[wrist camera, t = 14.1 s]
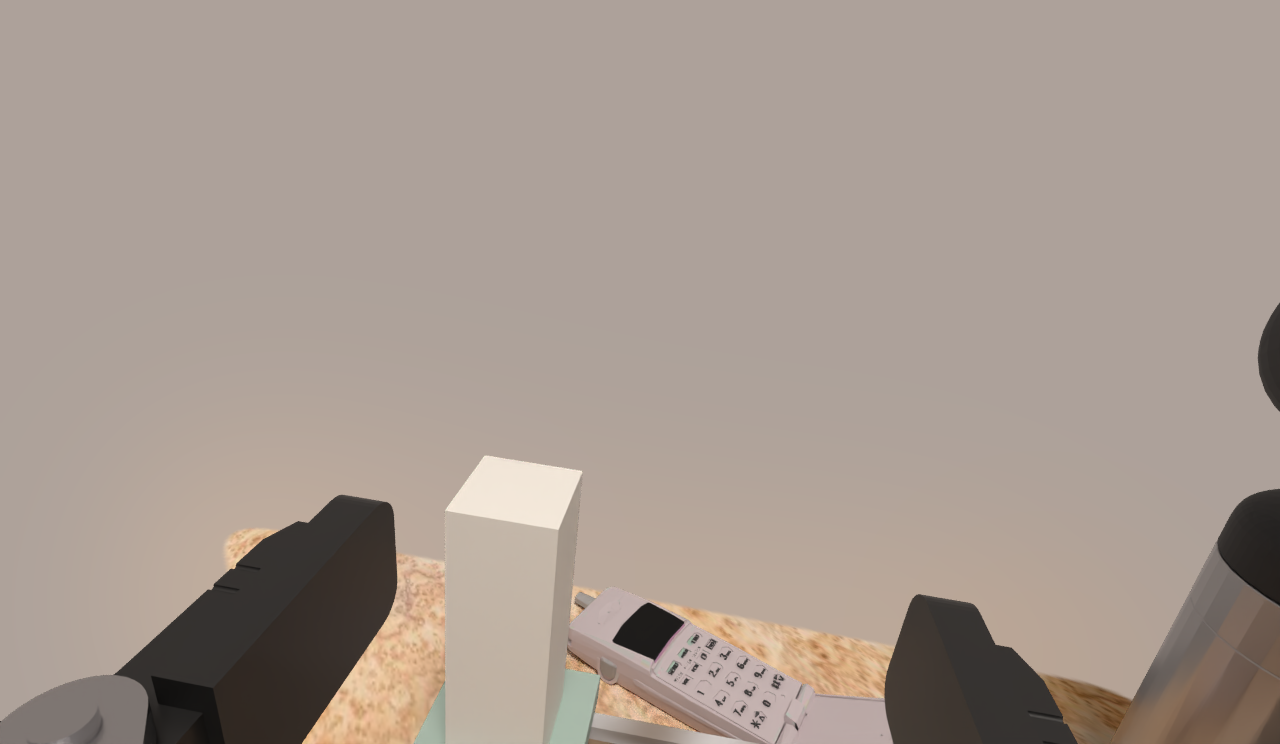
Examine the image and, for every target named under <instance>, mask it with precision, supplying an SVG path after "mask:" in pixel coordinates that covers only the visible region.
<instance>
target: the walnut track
mask: <svg viewBox="0 0 1280 744" xmlns="http://www.w3.org/2000/svg"><path fill="white" fill-rule="evenodd" d="M588 744H758V743H753V742H748V741H742V740H737V739H732V738H726V737H721V736H716V735H710V734H705V733H700V732H695V731H689V730H684V729H679V728H673V727H668V726H663V725H658V724H652V723H647V722H642V721H636V720H631V719H626V718H621V717H615V716H610V715H605V714H599V713H594V717H593V722H592V726H591V731H590V735H589V740H588Z"/></svg>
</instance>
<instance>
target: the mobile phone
mask: <svg viewBox="0 0 1280 744" xmlns="http://www.w3.org/2000/svg"><path fill="white" fill-rule="evenodd" d="M575 602H576V603H577V604H579V605H580V606H582V607H584V608H585V609H584V610H583V611H582V612H581V613H580V614H579V615H578V616H577V617H576V618H575V619H574V620H573V621H572V622H571V623H570V624H569V632H568V643H567V646H568V648H569V650H570V651H571V652H572V653H574V654H575V655H576V656H578V657H579V658H580V659H582V660H583V661H584V662H586V663H587V664H589V665H590V666H592V667H593V668H594V669H596V670H597V671H598V675H600V678H601V679H602V680H603V681H604V682H605V683H608V684H610V685H612V684H614V683H617V684H619V685H621V686H622V687H624V688H626V689H627V690H629V691H631V692H632V693H634V694H636V695H638V696H639V697H641V698H643V699H644V700H646V701H648V702H649V703H651V704H653V705H654V706H656V707H658V708H660V709H661V710H663V711H665V712H666V713H668V714H670V715H671V716H673V717H675V718H677V719H678V720H680V721H682V722H683V723H685V724H687V725H688V726H690V727H692V728H694V729H696V730H697V731H699V732H701V733H705V734H710V735H716V736H721V737H726V738H732V739H737V740H742V741H748V742H753V743H758V744H893V741H892V737H891V733H890V729H889V725H888V721H887V716H886V710H885V699H883V698H869V697H855V696H841V695H827V694H815V691H814V689H813V688H812V687H811V686H810V685H808V684H803V686H802V683H801V682H799V681H797V680H795V679H793V678H792V677H790V676H788V675H786V674H784V673H782V672H780V671H778V670H777V669H775V668H773V667H771V666H769V665H768V664H766V663H764V662H762V661H760V660H759V659H757V658H755V657H753V656H751V655H750V654H748V653H746V652H744V651H742V650H741V649H739V648H737V647H735V646H733V645H731V644H730V643H728V642H726V641H724V640H722V639H720V638H718V637H716V636H714V635H712V634H711V633H709V632H707V631H705V630H703V629H701V628H699V627H697V626H695V625H693V624H692V623H691V622H690V621H689V620H687V619H685V618H683V617H681V616H679V615H677V614H675V613H673V612H671V611H669V610H667V609H665V608H663V607H661V606H659V605H657V604H655V603H653V602H651V601H649V600H646V599H644V598H641V597H639V596H637V595H634V594H632V593H629V592H627V591H624V590H622V589H619V588H617V587H609V588H606V589H605V590H604V591H603V592H602V593H601V594H600V595H599V596H598V597H597V598H596V599H595V598H593V597H591V596H588V595H586V594H584V593H582V592H579V593H578V594H577V595H576V597H575ZM819 696H820V697H819Z"/></svg>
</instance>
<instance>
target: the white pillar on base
mask: <svg viewBox="0 0 1280 744" xmlns="http://www.w3.org/2000/svg"><path fill="white" fill-rule="evenodd" d="M582 473H583V471H579V470H573V469H566V468H560V467H554V466H548V465H542V464H535V463H529V462H523V461H517V460H511V459H504V458H498V457H492V456H484V457H483V459H482V460H481V462H480V463H479V464H478V466H477V467H476V468H475V470H474V471H473V473H472V474H471V475H470V477H469V478H468V479H467V481H466V482H465V484H464V485H463V486H462V488H461V489H460V491H459V492H458V493H457V495H456V496H455V497H454V499H453V500H452V502H451V503H450V505H449V506H448V507H447V508H446V510H445V682H444V684H443V686H442V688H441V690H440V692H439V694H438V696H437V698H436V700H435V702H434V704H433V706H432V708H431V710H430V712H429V714H428V716H427V718H426V720H425V722H424V724H423V726H422V728H421V730H420V732H419V734H418V736H417V738H416V740H415V742H414V744H588V740H589V735H590V731H591V726H592V722H593V717H594V713H595V708H596V704H597V699H598V692H599V683H600V675H597V674H591V673H586V672H581V671H575V670H570V669H565V666H566V655H567V643H568V632H569V621H570V609H571V598H572V587H573V575H574V564H575V553H576V540H577V530H578V519H579V507H580V496H581V484H582Z"/></svg>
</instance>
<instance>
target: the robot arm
mask: <svg viewBox="0 0 1280 744" xmlns="http://www.w3.org/2000/svg"><path fill="white" fill-rule="evenodd" d="M1258 363H1259V374H1260V377H1261V380H1262V383H1263V386H1264V389H1265V392H1266V393H1267V395H1268V396H1269V398H1270V399H1271V401H1272V403H1273V404H1274V406H1275V407H1276V408H1277V409H1278V410H1279V411H1280V303H1279V305H1278V306H1277V307H1276V309H1275V310H1274V312H1273V313H1272V315H1271V317H1270V319H1269V321H1268V323H1267V325H1266V327H1265V329H1264V331H1263V334H1262V337H1261V341H1260V345H1259V351H1258ZM396 589H397V564H396V547H395V528H394V513H393V509H392V506H391V505H390V504H389V503H387V502H382V501H376V500H371V499H364V498H359V497H352V496H346V495H339V496H337V497H335V498H334V499H333V500H331V501H330V502H329V503H328V504H327V505H326V506H325V507H324V508H323V509H322V510H321V511H320V512H319V513H318V514H317V515H316V516H315V517H314V518H313V519H312V520H311V521H310V522H309V523H305V522H299V521H298V522H296V523H294V524H292V525H290V526H288V527H286V528H284V529H282V530H280V531H278V532H276V533H275V534H273V535H271V536H269V537H267V538H265V539H263V540H262V541H261V542H260V543H259V544H257V545H256V546H255V547H254V548H253V549H252V550H251V551H250V552H249V553H248V554H246V555H245V556H244V557H243V558H242V559H241V560H240V561H239V562H238V563H237V564H236V567H235V569H230V570H229V571H228V572H227V573H226V574H225V575H223V576H222V577H221V578H220V579H219V580H218V581H217V582H216V583H215V584H214V587H213V589H212V590H207V591H206V592H205V593H204V594H203V595H201V596H200V597H199V598H198V599H197V600H196V601H195V602H194V603H193V604H192V605H191V606H189V607H188V608H187V609H186V610H185V611H184V612H183V613H182V614H181V615H180V616H179V617H177V618H176V619H175V620H174V621H173V622H172V623H171V624H170V625H169V626H168V627H166V628H165V629H164V630H163V631H162V632H161V633H160V634H159V635H158V636H156V638H154V639H153V640H152V641H151V642H150V643H149V644H148V645H147V646H146V647H144V648H143V649H142V650H141V651H140V652H139V653H138V654H137V655H136V656H134V658H132V659H131V660H130V661H129V662H128V663H127V664H126V665H125V666H124V667H122V669H120V670H119V671H118V672H117V673H115V674H114V675H103V676H94V677H88V678H83V679H79V680H76V681H72V682H69V683H66V684H63V685H61V686H58V687H56V688H53V689H51V690H49V691H47V692H45V693H43V694H41V695H39V696H37V697H35V698H33V699H32V700H30V701H28V702H27V703H25V704H23V705H22V706H21V707H19V708H17V709H16V710H15V711H13V712H12V713H11V714H9V715H8V716H7V717H6V718H5V719H4V720H2V721H0V744H302V742H303V741H304V739H305V738H306V736H307V735H308V733H309V732H310V731H311V729H312V728H313V726H314V725H315V723H316V722H317V720H318V719H319V717H320V716H321V714H322V713H323V711H324V710H325V709H326V707H327V706H328V704H329V703H330V701H331V700H332V698H333V697H334V695H335V694H336V692H337V691H338V690H339V688H340V687H341V685H342V684H343V682H344V681H345V679H346V678H347V676H348V675H349V673H350V672H351V671H352V669H353V668H354V666H355V665H356V663H357V662H358V660H359V659H360V657H361V656H362V654H363V653H364V651H365V650H366V649H367V647H368V646H369V644H370V643H371V641H372V640H373V638H374V637H375V635H376V634H377V632H378V631H379V630H380V628H381V627H382V625H383V624H384V622H385V620H386V619H387V617H388V615H389V613H390V610H391V608H392V605H393V602H394V599H395V594H396ZM885 710H886V716H887V721H888V725H889V729H890V733H891V737H892V741H893V744H1078V743H1077V741H1076V740H1075V738H1074V736H1073V734H1072V732H1071V730H1070V729H1069V727H1068V725H1067V724H1064V723H1063V716H1062V714H1061V712H1060V710H1059V708H1058V706H1057V705H1056V703H1055V701H1054V699H1053V697H1052V695H1051V694H1050V692H1049V690H1048V688H1047V686H1046V684H1045V682H1044V681H1043V680H1042V679H1041V678H1040V677H1039V676H1038V674H1037V673H1036V672H1035V671H1034V670H1033V669H1032V668H1031V667H1030V666H1029V665H1028V664H1027V663H1026V662H1025V661H1024V660H1023V659H1022V658H1021V657H1020V656H1019V655H1018V654H1017V653H1016V652H1015V651H1014V650H1013V649H1012V648H1009V647H1004V646H999V645H995V643H994V641H993V639H992V637H991V635H990V633H989V631H988V629H987V627H986V625H985V623H984V620H983V619H982V616H981V614H980V612H979V611H978V609H977V608H976V607H975V605H973V604H971V603H966V602H961V601H955V600H949V599H943V598H937V597H932V596H926V595H920V594H919V595H916V596H915V597H914V598H913V599H912V601H911V603H910V606H909V608H908V611H907V614H906V617H905V620H904V623H903V626H902V629H901V632H900V635H899V638H898V641H897V644H896V647H895V649H894V652H893V655H892V658H891V661H890V664H889V667H888V671H887V675H886V681H885ZM1110 744H1280V489H1275V490H1268V491H1263V492H1259V493H1256V494H1253V495H1251V496H1249V497H1247V498H1245V499H1244V500H1243V501H1242V502H1241V503H1239V505H1238V506H1237V507H1236V508H1235V509H1234V511H1233V512H1232V514H1231V516H1230V517H1229V519H1228V521H1227V523H1226V525H1225V527H1224V529H1223V531H1222V532H1221V534H1220V536H1219V538H1218V541H1217V542H1216V543H1215V545H1214V547H1213V549H1212V551H1211V553H1210V555H1209V557H1208V559H1207V560H1206V562H1205V564H1204V566H1203V568H1202V570H1201V572H1200V574H1199V576H1198V577H1197V580H1196V581H1195V583H1194V585H1193V587H1192V589H1191V591H1190V593H1189V595H1188V597H1187V599H1186V601H1185V603H1184V604H1183V606H1182V608H1181V610H1180V612H1179V614H1178V616H1177V618H1176V620H1175V621H1174V623H1173V625H1172V627H1171V629H1170V631H1169V633H1168V635H1167V636H1166V638H1165V640H1164V642H1163V644H1162V646H1161V648H1160V650H1159V652H1158V654H1157V655H1156V657H1155V659H1154V661H1153V663H1152V665H1151V667H1150V669H1149V670H1148V672H1147V674H1146V676H1145V678H1144V680H1143V682H1142V684H1141V686H1140V688H1139V690H1138V691H1137V693H1136V695H1135V697H1134V699H1133V701H1132V703H1131V704H1130V706H1129V708H1128V710H1127V712H1126V714H1125V716H1124V718H1123V720H1122V721H1121V723H1120V725H1119V727H1118V729H1117V731H1116V733H1115V734H1114V736H1113V738H1112V740H1111V742H1110Z"/></svg>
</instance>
